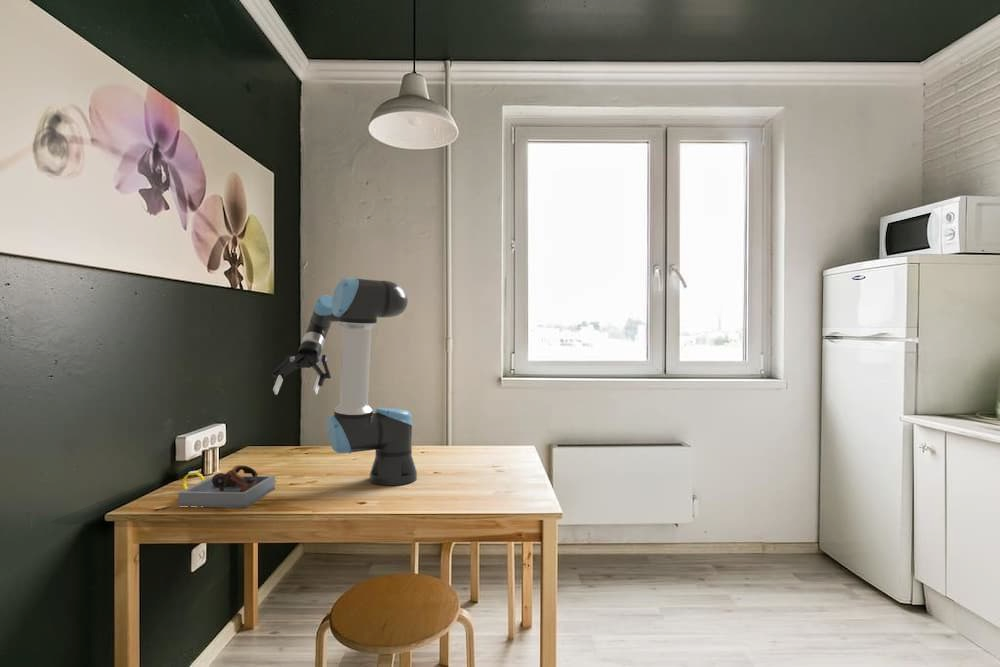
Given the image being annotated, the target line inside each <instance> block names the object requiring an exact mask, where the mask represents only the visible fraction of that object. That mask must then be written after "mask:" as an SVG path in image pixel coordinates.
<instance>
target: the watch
mask: <svg viewBox="0 0 1000 667" xmlns="http://www.w3.org/2000/svg"><path fill="white" fill-rule="evenodd" d="M195 475H196V476H197V477H199V478H200V480H201V482H202V481H204V480H206V479H205V477H204V476H203V474H202V473H200V471H199V470H191V471H189V472H188V473H187V474H186V475H185V476H184V477H183V479H182V487H183V490H185V489H187V488H189V487H188V485H187V479H188V477H189V476H195Z"/></svg>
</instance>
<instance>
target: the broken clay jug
mask: <svg viewBox="0 0 1000 667" xmlns="http://www.w3.org/2000/svg"><path fill="white" fill-rule="evenodd" d="M241 470H242V471H243V474H250V475H251V476H253V478H250V479H248V480H247V482H244V478H243V477H241V476H242V475H239V474H238V473H239V472H240V471H241ZM213 476H214V477H213ZM213 476H212V477H213V478H212V483H213V485H214V486H215V487H216V488H219V489H220V491H221V492H222V491H224V488H226V487H235V486H236V483H238V484H240V485H242V487H241V489H240V492H245V491H246V490H248V489H250V488H251V487H253V486H255V485H256V482H257V479H256V478H257V476H258V472H257V471H256V470H255V469H254V468H252V467H250V466H247V465H240V464H239V465H235V466H233V468H232V469H230V470H228V471H227V472H226V473H221V472H220V473H219V472H218V473H216V474H214V475H213ZM219 479H221V480H222V482H220V483H218V480H219Z"/></svg>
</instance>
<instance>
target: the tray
mask: <svg viewBox="0 0 1000 667" xmlns="http://www.w3.org/2000/svg"><path fill="white" fill-rule="evenodd" d="M214 476H215V475H213V476H211V477H209V478H207V479H205V480H204V481H202V480H201V481H200V482H198V483H196V484H194V485H192V486H190V487H188V488H187V489H183V490H181V491H179V492H178V500H177V501H178V503H177V504H178V505H177V506H188V507H191V506H197V507H201V506H203V507H216V508H215V509H246V508H248V507H249V506H251V505H253V504H254V503H256V502H257V501H259V500H260V499H262V498H263V497H265V496H266V494H267V495H268V494H270V493H271V492H272V490H273V491H274V490H275V489H276V475H257V478H256V479H257V482H256V485H255V486H253V487H251V488H250V489H248V490H246V491H245V492H240V489H241V487H242V485H240V484H238V483H236V486H235V487H226V488H224V491H222V492H221V491H220V489H219V488H216V487H215V486H214V485H213V483H212V478H213V477H214ZM240 476H241V477H243V478H244V482H247V480H248V479H250V478H253V476H252V475H240ZM220 482H222V480H221V479H219V480H218V483H220ZM269 492H270V493H269ZM219 507H220V508H219Z"/></svg>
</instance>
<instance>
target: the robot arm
mask: <svg viewBox="0 0 1000 667" xmlns="http://www.w3.org/2000/svg"><path fill="white" fill-rule="evenodd" d="M408 303H409V302H408V295H407V293H406V291H405V290H404V288H403V287H401V286H400V285H399V284H398V283H395V282H393V281H390V280H377V279H363V278H357V277H355V278H342V279H341V280H339V282H337V284H336V286H335V288H334V291H333V294H332V296H331V295H328V294H323V295H320V296H319V297H318V298H317V299H316V301H315V303H314V305H313V310H312V312H311V315H310V318H309V322H308V325H307V328H306V330H305V333H304V335H303V337H302V341H301V343H300V345H299V348H298V351H297V354H296V355H295V356H293V355H292V354H287V356H286V358H285V359H284V360H283V361H281V362H280V364H278V366H276V367H275V368H274V369H273V370H272V371H271V375H272V378H273V379H274V380H273V385H274V386H273V387H272V388H273V389H272V391H273V393H274V395H276V396H277V395H278V393H279V391H280V389H281V386H282V384H283V381H284V379H283V378H284V377H286V376H288V375H289V374H291V373H292V372H293V371H295V370H299V369H300V368H301V369H304V368H306V369H311V368H312V369H313V370H314V371H315V372H316V374H317V376H316V380H315V382H314V386H313V389H312V391H313V394H314V395H315V396H318V393H319V390H320V387H323V385H324V382H325V380H326V379H331V373H330V370H329V367H328V365H327V363H328V358H327V356H326V354H323V355H322V356H321V353H322V351H323V347H324V345H325V341H326V338H327V336H328V334H329V331H330V328H331V325H332V323H338V324H339V325H340V326H341V327H342V337H341V338H342V340H341V364H340V386H339V387H340V388H339V404H338V405H337V406H336V407H335V408H334V409H333V415H330V416H329V417H328V418H327V420H326V421H327V422H326V429H327V430H326V431H327V436H328V441H329V445H330V446H331V449H332V450H333V451H334V453H337V454H351V453H360V452H366V451H367V452H368V451H375V457H374V461H373V463H372V466H371V470H370V473H369V481H370V482H371V483H372V484H375V485H379V486H400V485H408V484H410V483H413V482H415V481H416V480H417V479H418V474H417V473H418V472H417V468H416V465H415V462H414V459H413V456H412V451H413V450H412V448H413V445H412V444H413V441H412V440H413V419H412V417H413V416H412V414H411V412H410V411H409V410H405V409H402V408H401V409H400V408H392V407H391V408H390V407H377V408H375V412H373V410H374V409H373V408H372V407H371V406H370V405H369V392H370V391H369V390H370V389H369V387H370V368H371V367H370V366H371V348H372V347H371V346H372V345H371V344H372V342H371V341H372V329H373V328H374V327H375V326H376V325H377V323H378V321H377V320H378V318H393V317H398V316H400V315H402V314H403V313H404V312H405V311H406V309H407V307H408ZM319 361H320V363H321V364H322V366H323V369H324V372H325V373H324V372H323V370H322V369H321V368H320V367H319V365H318V364H317V363H318V362H319Z"/></svg>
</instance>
